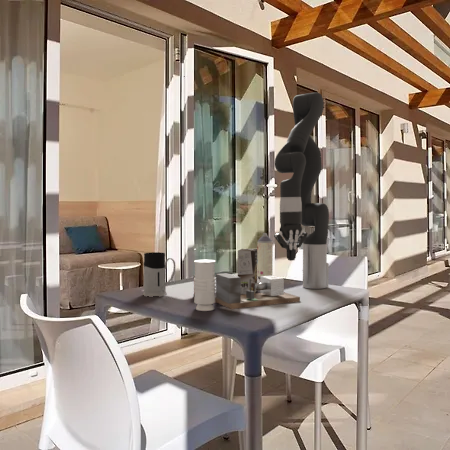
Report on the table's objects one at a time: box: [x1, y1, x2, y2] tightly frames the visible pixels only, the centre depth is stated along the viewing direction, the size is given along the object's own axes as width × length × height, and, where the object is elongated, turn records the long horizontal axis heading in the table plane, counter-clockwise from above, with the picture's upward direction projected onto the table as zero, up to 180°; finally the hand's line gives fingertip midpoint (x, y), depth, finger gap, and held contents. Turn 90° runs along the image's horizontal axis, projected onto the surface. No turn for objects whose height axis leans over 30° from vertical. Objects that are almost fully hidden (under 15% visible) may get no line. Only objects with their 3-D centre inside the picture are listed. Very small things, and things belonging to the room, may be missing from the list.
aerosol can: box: [256, 232, 274, 279], centre depth 204 cm, size 7×7×20 cm
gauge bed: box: [215, 272, 301, 310], centre depth 152 cm, size 26×12×10 cm, turn 116°
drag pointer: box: [246, 279, 254, 299], centre depth 146 cm, size 1×3×6 cm, turn 26°
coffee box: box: [237, 248, 258, 295], centre depth 168 cm, size 9×6×16 cm
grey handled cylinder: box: [142, 251, 176, 298], centre depth 163 cm, size 9×14×15 cm, turn 55°
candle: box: [193, 259, 216, 312], centre depth 141 cm, size 7×7×15 cm
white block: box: [255, 275, 285, 296], centre depth 153 cm, size 8×7×6 cm
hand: (291, 260), depth 157 cm, fingers closed
